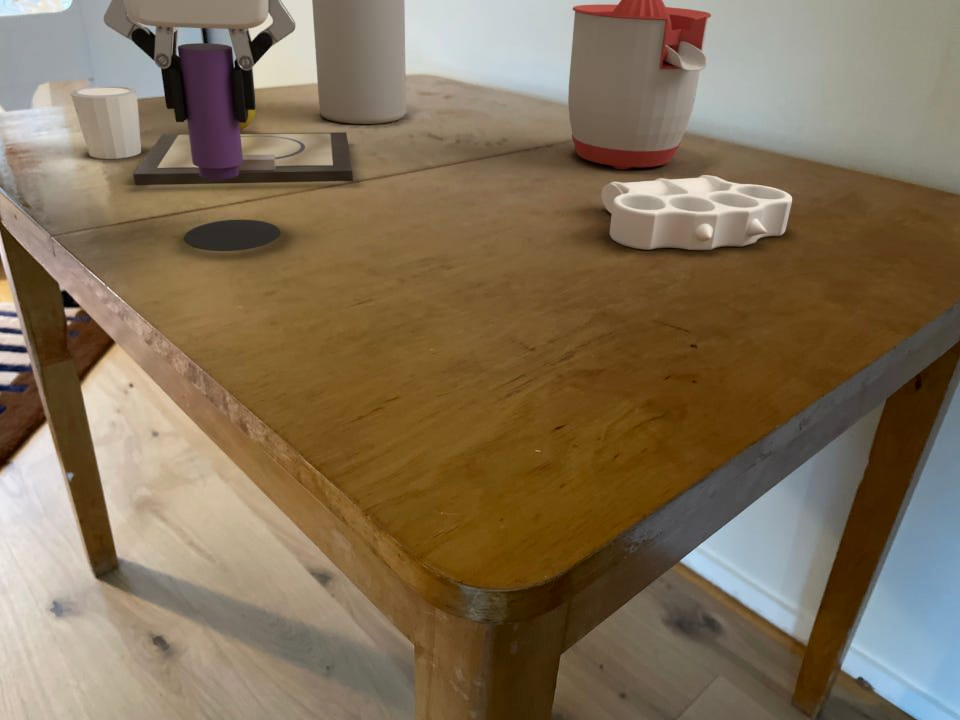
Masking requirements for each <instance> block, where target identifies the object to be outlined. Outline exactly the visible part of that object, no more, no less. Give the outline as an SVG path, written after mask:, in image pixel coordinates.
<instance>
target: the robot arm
mask: <svg viewBox="0 0 960 720" xmlns="http://www.w3.org/2000/svg"><path fill="white" fill-rule="evenodd" d="M268 16H270V17H271V19H272V23H271V24H270V25H269V26H266V28H265V29H263V30H261V31H259V33H258V34H257V35H256V36H255V37H254V38H253V39H252V37H251V33H250V29H254V28H257V27H260V26H261V25H263V24H264V23H265V22H266V20H267V19H268ZM103 22H104V24H105V25H106V27H108V28H110V29H111V30H113V31H115V32H116V33H118V34H119V35H121V36H123V37H125V39H128V40H130V41H131V42H133V43H134V44H135V45H136V46H137V47H138V48H139V49H140V50H141V51H142V52H143V53H144V54H146V55H147V56H148V57H149V58H150V59H151V60H152V61H154V63H155V65H156V66H157V67H158V68H159V69H160V72H161V78H162V87H163V93H164V94H163V95H164V101H165V106H166V109H167V110H173V112H174V119H175V122H176V123H184V122H185V121H187V114H186V107H185V99H184V91H183V83H182V75H181V69H180V61H179V55H177V54H178V53H177V52H178V37H179V28H186V29H187V28H190V29H220V30H221V29H223V30H227V31H228V34H229V37H230V40H231V41H230V42H231V44H232V49H233V51H234V55H235V60H233V63H234V70H233V71H232V80H233V90H234V100H235V111H236V120H237V121H239V123H246V121H247V118H248V110H255V111H256V109H255V106H256V93H255V81H254V70H253V69H254V68H253V67H254V66H255V65H256V64H257V63H258V62H259V61H260V60H261V58H262V57H263V56H264V55H265V54H266V53H267V52H268V51H269V50H270V49H271V48H272V47H273V46H275V45H276V44H278V43H279V42H281V41H282V40H283V39H285V38H286V37H287V36H289V35H290V34H293V32H295V30H296V22H295V19H294V18H293V17H292V15H291V13H290V12H289V10H288V9H287V8H286V5H284V3H283V1H282V0H111V1H110V3H109V5H108V7H107V8H106V12H105V13H104V16H103ZM143 25H144V26H143ZM146 26H150V27H155V33H153V31H151V30H150V28H148V27H146Z"/></svg>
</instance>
